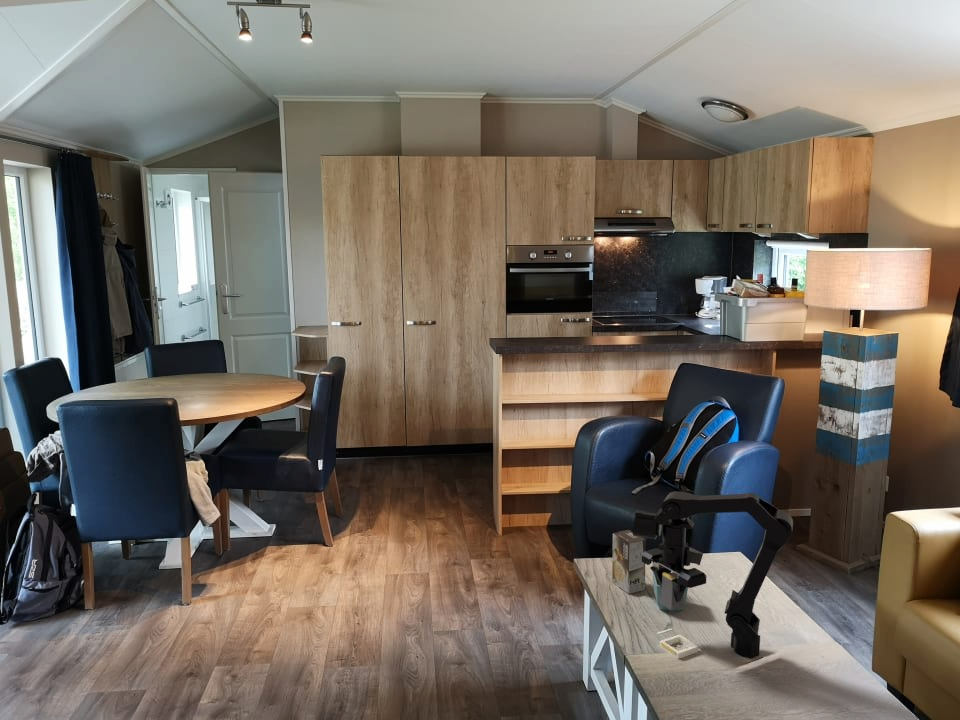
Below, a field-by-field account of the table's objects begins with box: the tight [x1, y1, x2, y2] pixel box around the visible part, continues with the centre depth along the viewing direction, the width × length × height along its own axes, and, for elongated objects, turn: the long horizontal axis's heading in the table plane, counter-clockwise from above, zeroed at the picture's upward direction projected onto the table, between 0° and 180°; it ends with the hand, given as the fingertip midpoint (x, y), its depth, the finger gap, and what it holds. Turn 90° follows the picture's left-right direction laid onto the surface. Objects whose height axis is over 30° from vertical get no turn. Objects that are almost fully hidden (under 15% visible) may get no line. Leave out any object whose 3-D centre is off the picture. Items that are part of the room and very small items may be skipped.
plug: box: [661, 571, 684, 611], centre depth 199 cm, size 4×4×9 cm
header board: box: [656, 627, 702, 659], centre depth 198 cm, size 13×11×2 cm
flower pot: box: [652, 572, 689, 612], centre depth 218 cm, size 9×9×9 cm
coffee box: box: [611, 529, 647, 595], centre depth 231 cm, size 9×6×16 cm
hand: (672, 598), depth 199 cm, fingers closed on plug, 4 cm apart
